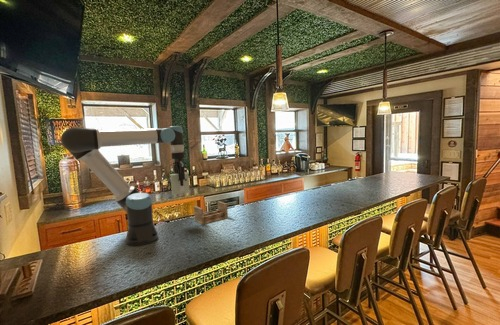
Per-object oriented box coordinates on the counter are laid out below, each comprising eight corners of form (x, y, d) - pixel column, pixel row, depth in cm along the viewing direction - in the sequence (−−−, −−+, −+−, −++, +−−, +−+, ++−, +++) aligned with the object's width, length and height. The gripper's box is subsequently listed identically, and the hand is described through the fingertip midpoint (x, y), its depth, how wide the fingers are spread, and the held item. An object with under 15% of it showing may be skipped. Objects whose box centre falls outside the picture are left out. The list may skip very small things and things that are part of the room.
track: (201, 224, 147) (200, 209, 146) (194, 220, 155) (193, 206, 155) (227, 217, 158) (227, 203, 157) (220, 214, 166) (219, 201, 165)
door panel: (174, 195, 148) (172, 174, 146) (172, 194, 150) (170, 174, 149) (190, 192, 153) (188, 172, 152) (187, 191, 156) (186, 172, 155)
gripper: (188, 151, 146) (191, 191, 148) (178, 151, 159) (181, 187, 161) (176, 152, 141) (179, 193, 143) (167, 152, 154) (170, 189, 156)
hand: (180, 190), depth 152 cm, fingers closed on door panel, 3 cm apart
